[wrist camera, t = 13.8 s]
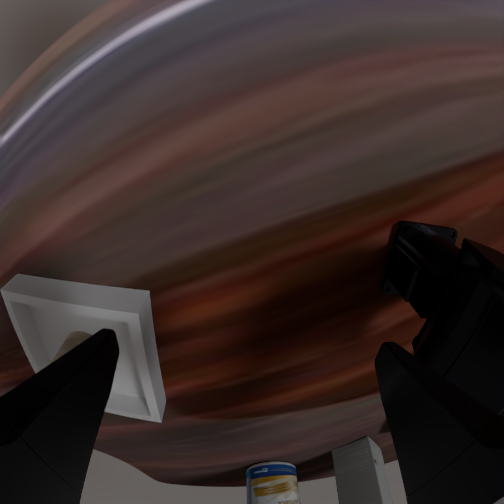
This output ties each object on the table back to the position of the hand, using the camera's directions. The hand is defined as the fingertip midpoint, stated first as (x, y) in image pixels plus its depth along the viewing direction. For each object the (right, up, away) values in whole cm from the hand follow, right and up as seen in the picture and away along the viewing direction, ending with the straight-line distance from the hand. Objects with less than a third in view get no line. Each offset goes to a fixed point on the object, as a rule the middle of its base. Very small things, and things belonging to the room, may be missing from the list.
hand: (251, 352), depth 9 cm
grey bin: (-16, -6, +17) cm, 24 cm away
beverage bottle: (+3, -32, +29) cm, 44 cm away
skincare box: (+16, -29, +28) cm, 43 cm away
